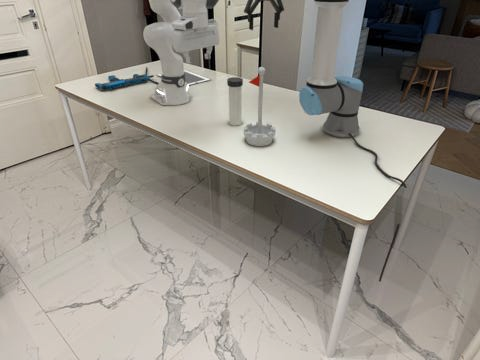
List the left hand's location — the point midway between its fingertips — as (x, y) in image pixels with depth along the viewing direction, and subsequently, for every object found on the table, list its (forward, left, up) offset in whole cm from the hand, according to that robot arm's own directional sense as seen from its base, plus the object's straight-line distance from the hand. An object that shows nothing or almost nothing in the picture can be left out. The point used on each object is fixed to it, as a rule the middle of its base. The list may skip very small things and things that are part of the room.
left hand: (198, 60), depth 130 cm
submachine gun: (-91, +16, -31) cm, 98 cm away
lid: (+2, +18, -11) cm, 21 cm away
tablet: (-72, +47, -31) cm, 92 cm away
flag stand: (+21, +12, -31) cm, 40 cm away
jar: (+2, +18, -31) cm, 36 cm away
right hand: (-9, +50, +5) cm, 51 cm away
